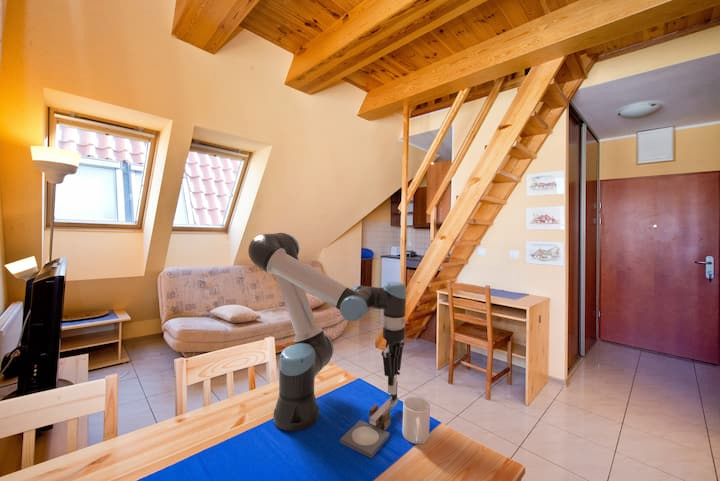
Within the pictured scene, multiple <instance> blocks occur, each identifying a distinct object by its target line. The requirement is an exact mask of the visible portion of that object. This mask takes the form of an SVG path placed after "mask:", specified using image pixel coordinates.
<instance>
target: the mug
mask: <svg viewBox="0 0 720 481" xmlns="http://www.w3.org/2000/svg"><path fill="white" fill-rule="evenodd" d="M402 406H403V407H402V437H403V438H404V439H405V440H406V441H407V442H409V443H412V444H415V445H420V444H421V445H422V444H424V443H426V442H427V441H428V439H429V436H430V421H431V420H430V418H431V417H430V416H431V404H430V402H429V401H428V400H426V399H424V398H421V397H418V396H410V397H406V398H405V399H404V400H403V405H402Z"/></svg>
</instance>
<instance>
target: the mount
mask: <svg viewBox="0 0 720 481" xmlns="http://www.w3.org/2000/svg"><path fill="white" fill-rule="evenodd" d="M378 409H379V404H377V403H375V404H374V405H373V406H372V407H371V408H370V409H369V414H368V415H369V417H368V419H369V418H370V417H371V416H372V415H373V414H374V413H375V412H376V411H377V410H378ZM368 424H370V423H369V422H368ZM370 425H372V424H370ZM372 426H375V425H372ZM389 426H391V410H390V409H387V410H386V411H385V412H384V413H383V414H382V420H381V421H380V422H379V423H378V424H377V425H376V426H375V427H377V428H379V429H382V430H384V431H386V430H387V429H388V428H389Z"/></svg>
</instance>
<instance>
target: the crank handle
mask: <svg viewBox="0 0 720 481" xmlns="http://www.w3.org/2000/svg"><path fill="white" fill-rule="evenodd" d="M398 382H399V381H397V385H398ZM389 394H390V393H389ZM389 396H390V397H388V399H387V400H386V401H385V402H384V403H383V404H382V405H381V406H380V407H378V410H377V411H376V412H375V413H374V414H373V415H372V416H371V417H370V418H369V417H368V424H369V423H370V424H372V425H375V426H376V425H377V424H378V423H379V422H380V421H381V420H382V414H383V413H384V412H385V411H386V410H387V409H390V411H392V410H393V408H394V407H396V405H397V404H398V402H399V397H398V389H397V390H396V394H395V395H393V394H390V395H389Z"/></svg>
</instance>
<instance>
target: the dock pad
mask: <svg viewBox="0 0 720 481" xmlns="http://www.w3.org/2000/svg"><path fill="white" fill-rule="evenodd" d="M389 437H390V432H388V431H386V430H385V431H384V430H382V429H379V428H377V427H375V426H372V425H370V424H369V422H365V421H362V419H361V420H358V421H357V422H356V423H355V424H354V425H353V426H352V427H351V428H350V429H349V430H347V432H346V433H345V434H344V435H343V436H342V437H340V440H339V443H340V444H342V445H344V446H346V447H348V448H350V449H351V450H354V451H356V452H358V453H360V454H362V455H364V456H366V457H368V458H370V459H372V458H373V457H374V456H375V454H376V453H378V451H379V450H380V448H382V446H383V445H384V444H385V443H386V441H387V440H388V439H389Z"/></svg>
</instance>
